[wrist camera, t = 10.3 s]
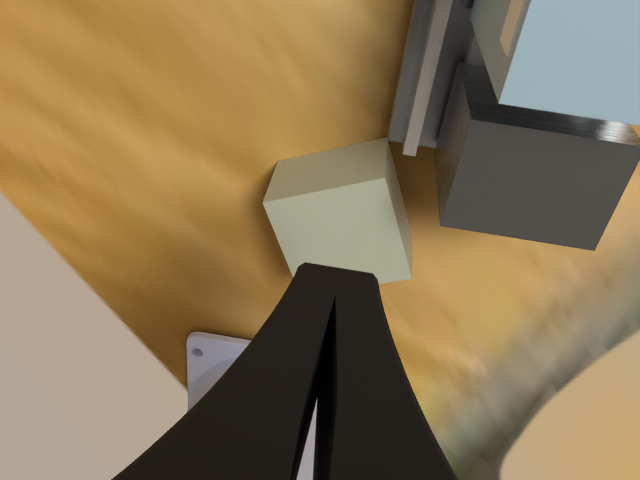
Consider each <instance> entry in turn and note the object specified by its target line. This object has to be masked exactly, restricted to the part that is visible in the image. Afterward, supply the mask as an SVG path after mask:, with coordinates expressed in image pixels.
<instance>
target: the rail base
mask: <svg viewBox="0 0 640 480" xmlns="http://www.w3.org/2000/svg"><path fill="white" fill-rule="evenodd" d="M473 3H474V0H414V1H413V6H412V11H411V16H410V21H409V26H408V31H407V36H406V41H405V46H404V51H403V56H402V60H401V65H400V70H399V75H398V80H397V85H396V90H395V95H394V100H393V105H392V110H391V115H390V120H389V125H388V138H387V141H394V142H400V143H403V154H404V155H410V156H416V152H417V148H418V145H419V146H425V147H432V148H436V150H435V153H434V159H435V170H436V181H437V192H438V203H439V214H440V226H444V227H450V228H457V229H463V230H469V231H475V232H481V233H487V234H494V235H500V236H506V237H512V238H518V239H525V240H531V241H537V242H543V243H549V244H555V245H562V246H568V247H574V248H580V249H586V250H593V251H595V249H596V247H597V245H598V243H599V241H600V239H601V237H602V235H603V232H604V230H605V228H606V226H607V224H608V222H609V220H610V218H611V216H612V214H613V212H614V210H615V208H616V206H617V204H618V202H619V200H620V198H621V196H622V194H623V192H624V190H625V188H626V186H627V184H628V182H629V180H630V178H631V176H632V174H633V172H634V170H635V168H636V166H637V164H638V162H639V160H640V138H639V137H638V135H637V134H636V133H635V131H634V130H633V129H632V127H631V126H630V125H629V124H627V123H620V122H614V121H607V120H601V119H595V118H588V117H582V116H575V115H569V114H562V113H556V112H550V111H543V110H537V109H530V108H524V107H518V106H511V105H505V104H499V103H498V100H497V97H496V94H495V92H494V89H493V86H492V83H491V80H490V77H489V74H488V71H487V68H486V65H485V62H484V59H483V56H482V53H481V50H480V47H479V44H478V41H477V38H476V35H475V32H474V29H473V26H472V23H471V20H470V15H471V11H472V7H473Z"/></svg>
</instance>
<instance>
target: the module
mask: <svg viewBox="0 0 640 480" xmlns="http://www.w3.org/2000/svg"><path fill="white" fill-rule="evenodd" d="M470 20H471V23H472V26H473V29H474V32H475V35H476V38H477V41H478V44H479V47H480V50H481V53H482V56H483V59H484V62H485V65H486V68H487V71H488V74H489V77H490V80H491V83H492V86H493V89H494V92H495V94H496V97H497V100H498V103H499V104H505V105H511V106H518V107H524V108H530V109H537V110H543V111H550V112H556V113H562V114H569V115H575V116H582V117H588V118H595V119H601V120H607V121H614V122H620V123H627V124H633V125H639V126H640V0H474V3H473V7H472V11H471V15H470Z"/></svg>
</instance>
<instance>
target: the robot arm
mask: <svg viewBox="0 0 640 480" xmlns="http://www.w3.org/2000/svg"><path fill="white" fill-rule="evenodd" d="M186 346H187V380H188V411H187V413H186V414H185V415H184V416H183V418H181V419H180V420H179V421H178V422H177V423H176V424H175V425H174V426H173V427H172V428H170V429H169V430H168V431H167V432H166V433H165V434H164V435H163V436H162V437H161V438H160V439H159V440H157V441H156V442H155V443H154V444H153V445H152V446H151V447H150V448H149V449H147V450H146V451H145V452H144V453H143V454H142V455H141V456H139V457H138V458H137V459H136V460H135V461H134V462H132V463H131V464H130V465H129V466H128V467H126V469H124V470H123V471H122V472H120V473H119V474H118V475H117V476H115V477H114V478H113V479H111V480H458V478H457V477H456V475H455V473H454V472H453V470H452V468H451V466H450V464H449V463H448V461H447V459H446V457H445V455H444V453H443V452H442V450H441V448H440V446H439V444H438V442H437V440H436V438H435V436H434V434H433V432H432V431H431V429H430V426H429V424H428V422H427V420H426V418H425V416H424V414H423V412H422V410H421V407H420V405H419V403H418V401H417V399H416V396H415V394H414V392H413V390H412V387H411V385H410V383H409V380H408V378H407V375H406V373H405V370H404V368H403V365H402V362H401V360H400V357H399V354H398V352H397V349H396V346H395V344H394V341H393V338H392V335H391V332H390V329H389V325H388V322H387V319H386V315H385V312H384V308H383V304H382V300H381V296H380V291H379V285H378V279H377V278H376V277H375V275H374V274H373V273H368V272H362V271H356V270H350V269H344V268H337V267H331V266H325V265H319V264H313V263H307V262H305V263H303V264H301V265H300V266H298V268H297V271H296V273H295V275H294V277H293V279H292V281H291V283H290V285H289V287H288V288H287V290H286V292H285V293H284V295H283V297H282V298H281V300H280V301H279V303H278V304H277V306H276V307H275V309H274V311H273V312H272V313H271V315H270V316H269V317H268V319H267V320H266V322H265V323H264V324H263V326H262V327H261V328H260V330H259V331H258V333H257V334H256V335H255V337H254V338H253V339H252V340H246V339H240V338H234V337H228V336H222V335H217V334H211V333H205V332H192V333H190V334H189V336H188V339H187V342H186ZM197 349H200V350H197Z"/></svg>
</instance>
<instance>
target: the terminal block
mask: <svg viewBox="0 0 640 480" xmlns="http://www.w3.org/2000/svg"><path fill="white" fill-rule="evenodd" d="M262 203H263V205H264V208H265V210H266V213H267V215H268V218H269V220H270V223H271V225H272V227H273V230H274V232H275V235H276V237H277V240H278V242H279V245H280V247H281V249H282V252H283V254H284V257H285V259H286V262H287V264H288V266H289V269H290V271H291V274H292V276H293V277H294V275H295V273H296V271H297V268H298V266H300V265H301V264H303V263H305V262H307V263H313V264H319V265H325V266H331V267H337V268H344V269H350V270H356V271H362V272H368V273H373V274H374V275H375V277H376V278H377V279H378V284H382V283H389V282H395V281H402V280H408V279H412V246H411V228H410V225H409V221H408V217H407V213H406V209H405V205H404V201H403V197H402V193H401V189H400V185H399V181H398V177H397V174H396V170H395V166H394V162H393V158H392V154H391V150H390V146H389V142H388V141H387V137H384V138H380V139H375V140H371V141H366V142H362V143H357V144H353V145H348V146H343V147H339V148H334V149H330V150H325V151H321V152H316V153H312V154H307V155H303V156H298V157H294V158H289V159H285V160H280V161H278V162H277V165H276V167H275V170H274V173H273V176H272V178H271V181H270V184H269V186H268V189H267V192H266V194H265V197H264V200H263V202H262Z"/></svg>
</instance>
